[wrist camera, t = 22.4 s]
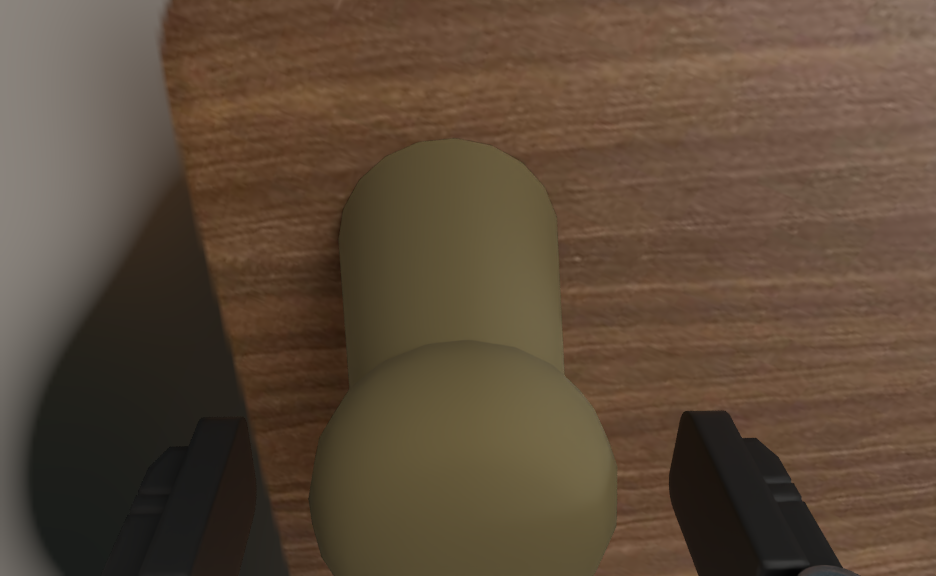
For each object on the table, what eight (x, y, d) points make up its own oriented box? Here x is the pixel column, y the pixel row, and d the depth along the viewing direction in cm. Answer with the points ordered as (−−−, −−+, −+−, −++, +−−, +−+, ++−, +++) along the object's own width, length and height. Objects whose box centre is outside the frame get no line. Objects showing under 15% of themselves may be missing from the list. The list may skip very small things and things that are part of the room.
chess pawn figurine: (430, 89, 19) (437, 340, 9) (603, 227, 21) (750, 543, 12) (295, 260, 21) (189, 602, 12) (464, 368, 23) (491, 732, 14)
